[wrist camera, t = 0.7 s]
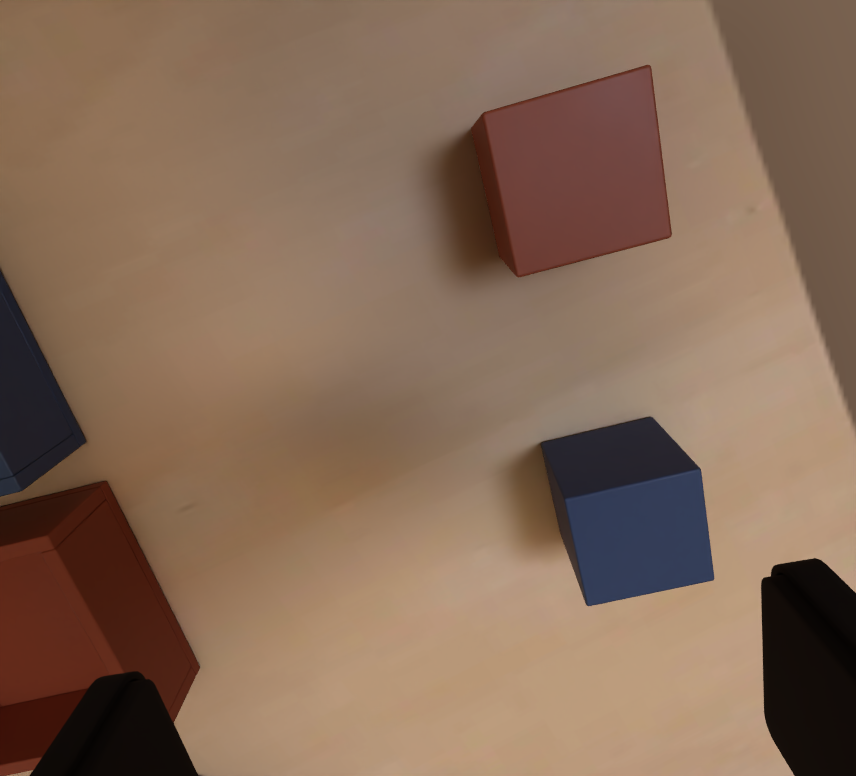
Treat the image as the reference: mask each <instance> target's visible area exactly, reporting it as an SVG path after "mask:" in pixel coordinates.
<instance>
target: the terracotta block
mask: <svg viewBox="0 0 856 776" xmlns="http://www.w3.org/2000/svg"><path fill="white" fill-rule="evenodd" d="M471 131H472V136H473V140H474V145H475V149H476V154H477V158H478V163H479V167H480V172H481V176H482V181H483V185H484V190H485V194H486V199H487V203H488V208H489V212H490V217H491V221H492V226H493V231H494V235H495V240H496V244H497V249H498V253H499V257H500V258H501V259H502V261H503V262H504V263H505V264H506V265H507V266H508V267H509V269H510V270H511V271H512V272H513V273H514V274H515V275H516V277H522V276H526V275H530V274H534V273H538V272H541V271H545V270H549V269H553V268H557V267H560V266H564V265H568V264H572V263H576V262H580V261H583V260H587V259H591V258H595V257H599V256H602V255H606V254H610V253H614V252H618V251H621V250H625V249H629V248H633V247H637V246H641V245H644V244H648V243H652V242H656V241H660V240H663V239H667V238H670V237H671V235H672V232H671V224H670V216H669V208H668V200H667V192H666V184H665V175H664V167H663V159H662V151H661V143H660V135H659V127H658V119H657V111H656V103H655V94H654V86H653V78H652V70H651V66H650V65H645V66H642V67H639V68H635V69H632V70H628V71H625V72H621V73H618V74H614V75H611V76H607V77H604V78H601V79H597V80H594V81H590V82H587V83H583V84H580V85H576V86H573V87H570V88H566V89H563V90H559V91H556V92H552V93H549V94H545V95H542V96H539V97H535V98H532V99H528V100H525V101H521V102H518V103H514V104H511V105H507V106H504V107H501V108H497V109H494V110H490V111H487V112H484V113H483V114H482V115H481V116H480V117H479V119H478V120H477V121H476V123H475V124H474V125H473V126H472V128H471Z"/></svg>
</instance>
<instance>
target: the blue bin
mask: <svg viewBox="0 0 856 776" xmlns="http://www.w3.org/2000/svg"><path fill="white" fill-rule="evenodd" d="M84 443H86V440H85V438H84V436H83V434H82V432H81V430H80V428H79V426H78V424H77V422H76V420H75V418H74V416H73V414H72V412H71V410H70V408H69V406H68V404H67V402H66V400H65V398H64V396H63V394H62V392H61V390H60V388H59V386H58V384H57V382H56V380H55V378H54V376H53V374H52V372H51V370H50V368H49V366H48V364H47V362H46V360H45V358H44V356H43V354H42V353H41V351H40V349H39V347H38V345H37V343H36V341H35V339H34V337H33V335H32V333H31V331H30V329H29V327H28V325H27V323H26V321H25V319H24V317H23V315H22V313H21V311H20V309H19V307H18V305H17V303H16V301H15V299H14V297H13V295H12V293H11V291H10V289H9V287H8V285H7V283H6V281H5V279H4V277H3V275H2V273H1V271H0V496H4V495H8V494H12V493H16V492H20V491H23V490H24V489H25V488H27V487H28V486H29V485H30V484H32V483H33V482H34V481H36V480H37V479H38V478H40V477H41V476H42V475H44V474H45V473H46V472H48V471H49V470H50V469H52V468H53V467H54V466H55V465H57V464H58V463H59V462H61V461H62V460H63V459H65V458H66V457H67V456H69V455H70V454H71V453H73V452H74V451H75V450H77V449H78V448H79V447H80V446H82V445H83V444H84Z"/></svg>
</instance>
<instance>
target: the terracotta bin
mask: <svg viewBox="0 0 856 776" xmlns="http://www.w3.org/2000/svg"><path fill="white" fill-rule="evenodd" d="M199 669H200V666H199V664H198V662H197V660H196V658H195V656H194V654H193V652H192V650H191V648H190V646H189V644H188V642H187V640H186V639H185V637H184V635H183V633H182V631H181V629H180V627H179V625H178V623H177V621H176V619H175V617H174V615H173V613H172V611H171V609H170V607H169V605H168V603H167V601H166V599H165V597H164V595H163V593H162V591H161V589H160V587H159V585H158V583H157V581H156V579H155V577H154V575H153V573H152V571H151V569H150V567H149V565H148V563H147V561H146V559H145V557H144V555H143V553H142V551H141V549H140V547H139V545H138V543H137V541H136V539H135V537H134V535H133V533H132V531H131V529H130V527H129V525H128V523H127V521H126V519H125V517H124V515H123V513H122V511H121V509H120V507H119V505H118V503H117V501H116V499H115V497H114V495H113V493H112V491H111V489H110V488H109V486H108V484H107V482H106V481H104V482H100V483H96V484H92V485H88V486H84V487H80V488H75V489H71V490H67V491H63V492H59V493H55V494H51V495H47V496H43V497H39V498H35V499H31V500H27V501H23V502H19V503H15V504H10V505H6V506H2V507H0V776H6V775H11V774H16V773H21V772H26V771H31V770H34V769H35V767H36V766H37V764H38V763H39V761H40V760H41V758H42V757H43V755H44V754H45V752H46V751H47V749H48V748H49V746H50V745H51V743H52V742H53V740H54V739H55V737H56V736H57V734H58V733H59V731H60V730H61V728H62V727H63V725H64V724H65V723H66V721H67V720H68V718H69V717H70V715H71V714H72V712H73V711H74V709H75V708H76V706H77V705H78V703H79V702H80V700H81V699H82V697H83V696H84V694H85V693H86V691H87V690H88V688H89V687H90V685H91V684H92V683H93V682H94V681H95V680H96V679H98V678H99V677H102V676H108V675H114V674H120V673H126V672H132V671H138V672H140V673H142V674H143V676H144V677H145V679H150V680H152V681H153V682H154V684H155V685H156V688H157V690H158V692H159V694H160V696H161V698H162V700H163V702H164V704H165V707H166V709H167V711H168V713H169V715H170V717H171V719H172V721H173V723H174V721H175V719H176V717H177V715H178V713H179V710H180V708H181V706H182V704H183V702H184V700H185V698H186V696H187V694H188V692H189V689H190V687H191V685H192V683H193V681H194V679H195V676H196V675H197V673H198V671H199Z"/></svg>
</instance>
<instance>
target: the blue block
mask: <svg viewBox="0 0 856 776" xmlns="http://www.w3.org/2000/svg"><path fill="white" fill-rule="evenodd" d="M541 448H542V452H543V457H544V461H545V466H546V470H547V475H548V479H549V484H550V488H551V493H552V497H553V502H554V506H555V511H556V515H557V520H558V524H559V529H560V534H561V537H562V539H563V542H564V545H565V548H566V550H567V553H568V556H569V559H570V561H571V564H572V567H573V570H574V572H575V575H576V578H577V581H578V583H579V586H580V589H581V592H582V594H583V597H584V600H585V603H586V605H587V606H592V605H597V604H602V603H607V602H612V601H616V600H621V599H626V598H631V597H636V596H640V595H645V594H650V593H655V592H660V591H665V590H669V589H674V588H679V587H684V586H689V585H693V584H698V583H703V582H708V581H713V580H714V572H713V564H712V556H711V548H710V540H709V531H708V523H707V515H706V507H705V499H704V491H703V483H702V475H701V469H700V468H699V467H698V466H697V465H696V464H695V462H694V461H693V460H692V459H691V458H690V457H689V456H688V455H687V454H686V453H685V452H684V451H683V450H682V449H681V447H680V446H679V445H678V444H677V443H676V442H675V441H674V440H673V439H672V438H671V437H670V436H669V435H668V433H667V432H666V431H665V430H664V429H663V428H662V427H661V426H660V425H659V424H658V423H657V422H656V421H655V419H654V418H653V417H649V418H644V419H640V420H636V421H632V422H627V423H623V424H619V425H615V426H610V427H606V428H602V429H598V430H593V431H589V432H585V433H581V434H576V435H572V436H568V437H564V438H559V439H555V440H551V441H547V442H542V443H541Z"/></svg>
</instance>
